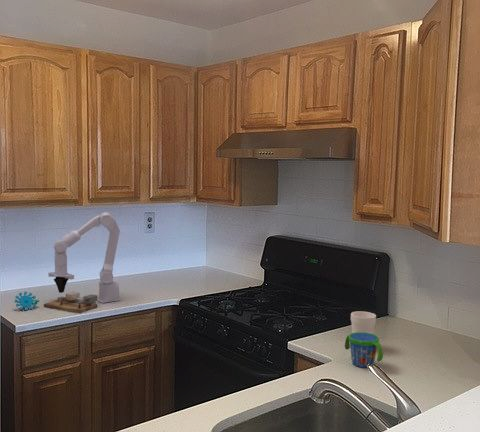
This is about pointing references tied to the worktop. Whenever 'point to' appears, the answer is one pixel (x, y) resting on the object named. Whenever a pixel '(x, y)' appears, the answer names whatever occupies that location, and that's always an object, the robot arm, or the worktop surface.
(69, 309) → the hole board
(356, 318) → the foam cup
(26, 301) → the gear
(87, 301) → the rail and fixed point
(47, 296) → the worktop surface
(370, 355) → the snack cup
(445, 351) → the worktop surface
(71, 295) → the slider
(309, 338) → the worktop surface
